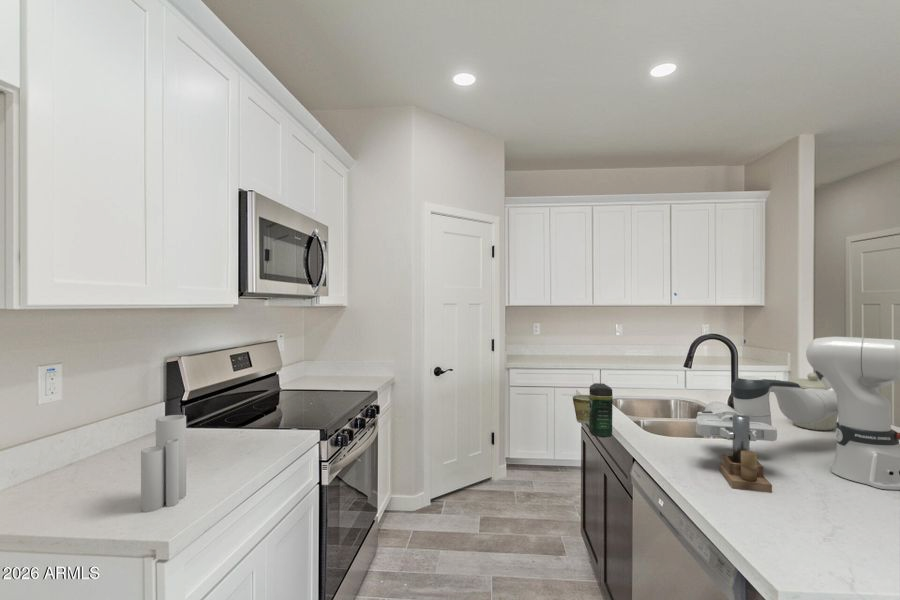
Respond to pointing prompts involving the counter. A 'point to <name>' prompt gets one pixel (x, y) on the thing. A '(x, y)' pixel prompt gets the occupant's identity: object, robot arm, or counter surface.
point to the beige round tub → (816, 384)
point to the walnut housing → (745, 472)
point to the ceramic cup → (582, 408)
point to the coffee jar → (600, 410)
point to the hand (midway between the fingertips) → (741, 437)
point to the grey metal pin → (740, 435)
